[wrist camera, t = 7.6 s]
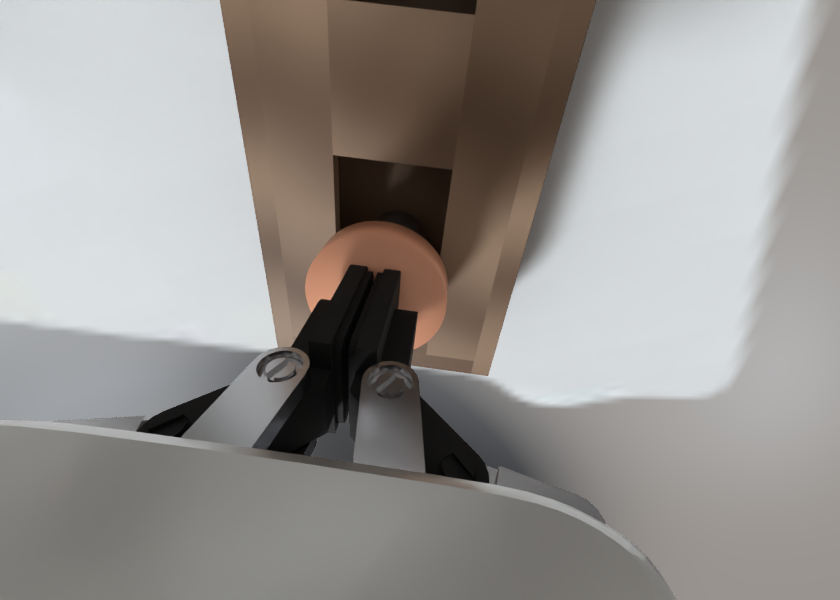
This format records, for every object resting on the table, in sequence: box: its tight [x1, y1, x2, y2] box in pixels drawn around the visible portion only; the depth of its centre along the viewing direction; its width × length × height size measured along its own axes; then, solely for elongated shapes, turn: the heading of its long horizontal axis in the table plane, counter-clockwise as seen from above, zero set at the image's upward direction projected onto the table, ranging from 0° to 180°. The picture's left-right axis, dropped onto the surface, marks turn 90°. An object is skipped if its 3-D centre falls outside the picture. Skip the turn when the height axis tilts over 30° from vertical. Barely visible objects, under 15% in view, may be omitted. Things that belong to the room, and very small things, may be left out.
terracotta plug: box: [305, 211, 448, 350], centre depth 14 cm, size 5×5×5 cm
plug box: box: [220, 0, 596, 376], centre depth 13 cm, size 22×10×5 cm, turn 174°
